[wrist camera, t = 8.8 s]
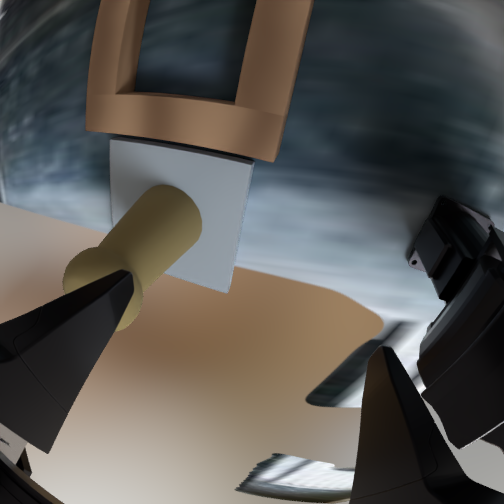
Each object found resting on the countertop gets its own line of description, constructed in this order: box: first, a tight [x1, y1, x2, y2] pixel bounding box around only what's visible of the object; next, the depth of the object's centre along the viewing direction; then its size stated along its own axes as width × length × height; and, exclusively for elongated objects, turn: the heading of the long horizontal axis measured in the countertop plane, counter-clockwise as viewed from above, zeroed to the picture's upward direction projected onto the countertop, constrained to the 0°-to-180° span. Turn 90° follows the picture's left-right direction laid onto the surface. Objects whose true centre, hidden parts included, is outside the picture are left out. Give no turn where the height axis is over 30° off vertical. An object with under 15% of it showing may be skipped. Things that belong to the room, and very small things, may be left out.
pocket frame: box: [86, 0, 314, 162], centre depth 14 cm, size 15×15×2 cm
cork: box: [63, 185, 202, 332], centre depth 18 cm, size 6×6×11 cm
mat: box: [110, 137, 255, 293], centre depth 23 cm, size 12×12×1 cm
